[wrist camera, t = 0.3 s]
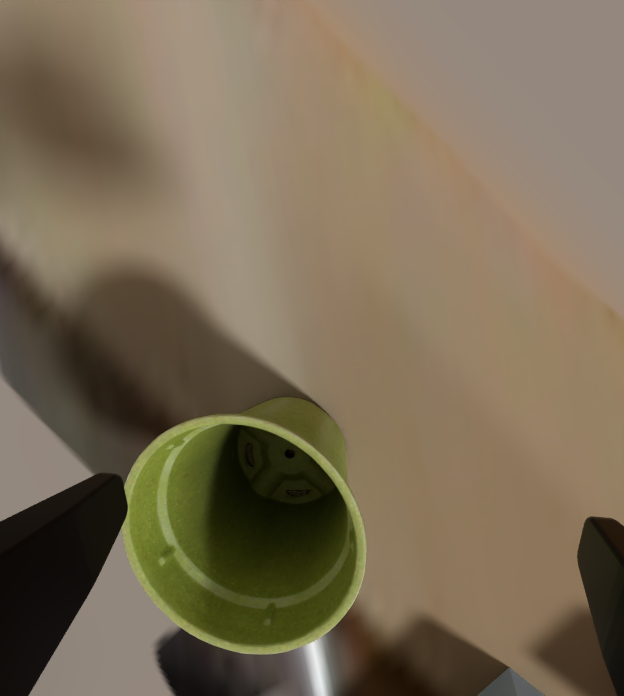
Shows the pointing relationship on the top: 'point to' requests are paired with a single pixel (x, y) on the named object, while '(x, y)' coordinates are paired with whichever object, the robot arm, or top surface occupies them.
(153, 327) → the top surface
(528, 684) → the light blue block
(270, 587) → the plant pot
